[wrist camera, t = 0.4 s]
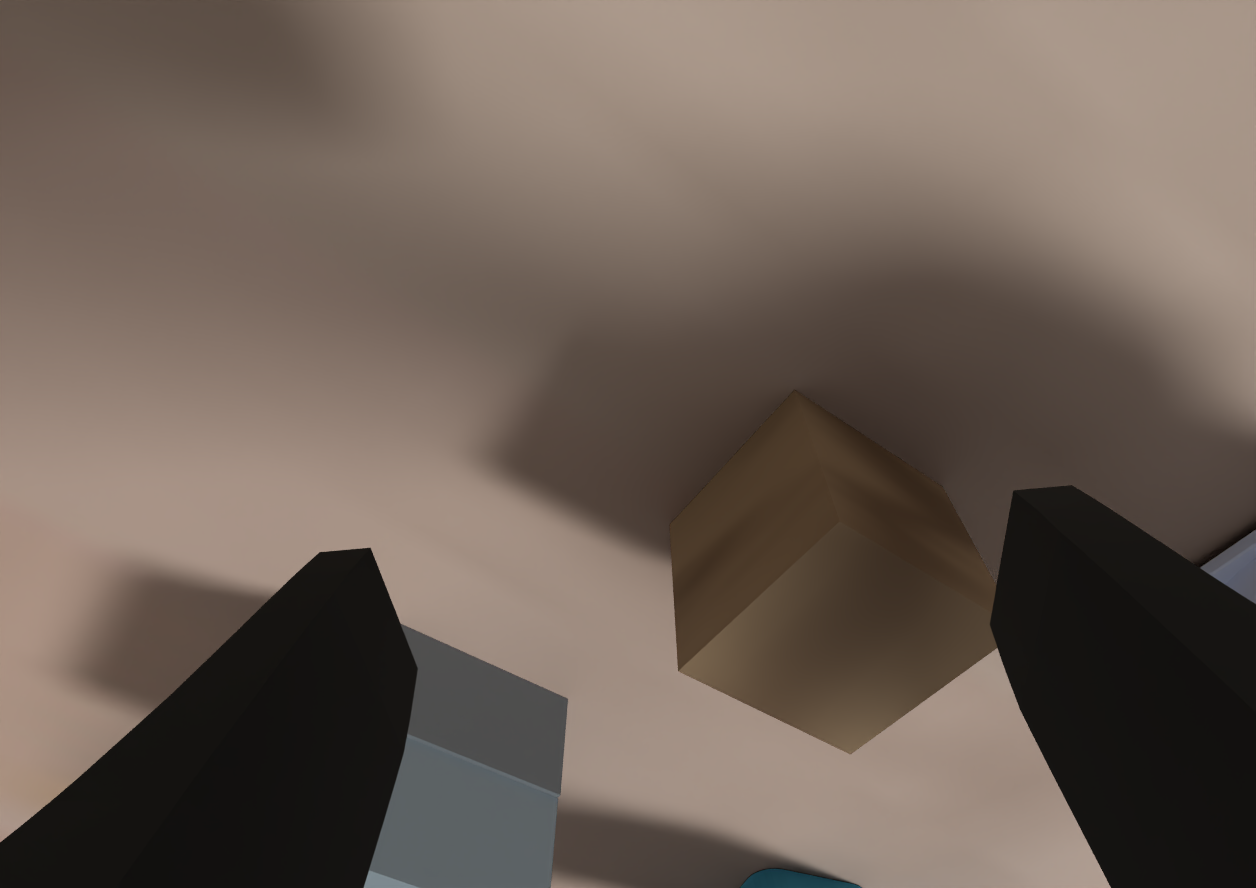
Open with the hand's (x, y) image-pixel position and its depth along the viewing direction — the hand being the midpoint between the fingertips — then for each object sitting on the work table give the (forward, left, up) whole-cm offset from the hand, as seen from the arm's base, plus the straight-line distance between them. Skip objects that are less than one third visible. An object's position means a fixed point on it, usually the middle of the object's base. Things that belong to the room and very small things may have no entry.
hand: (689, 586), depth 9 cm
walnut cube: (-7, +3, -10) cm, 12 cm away
